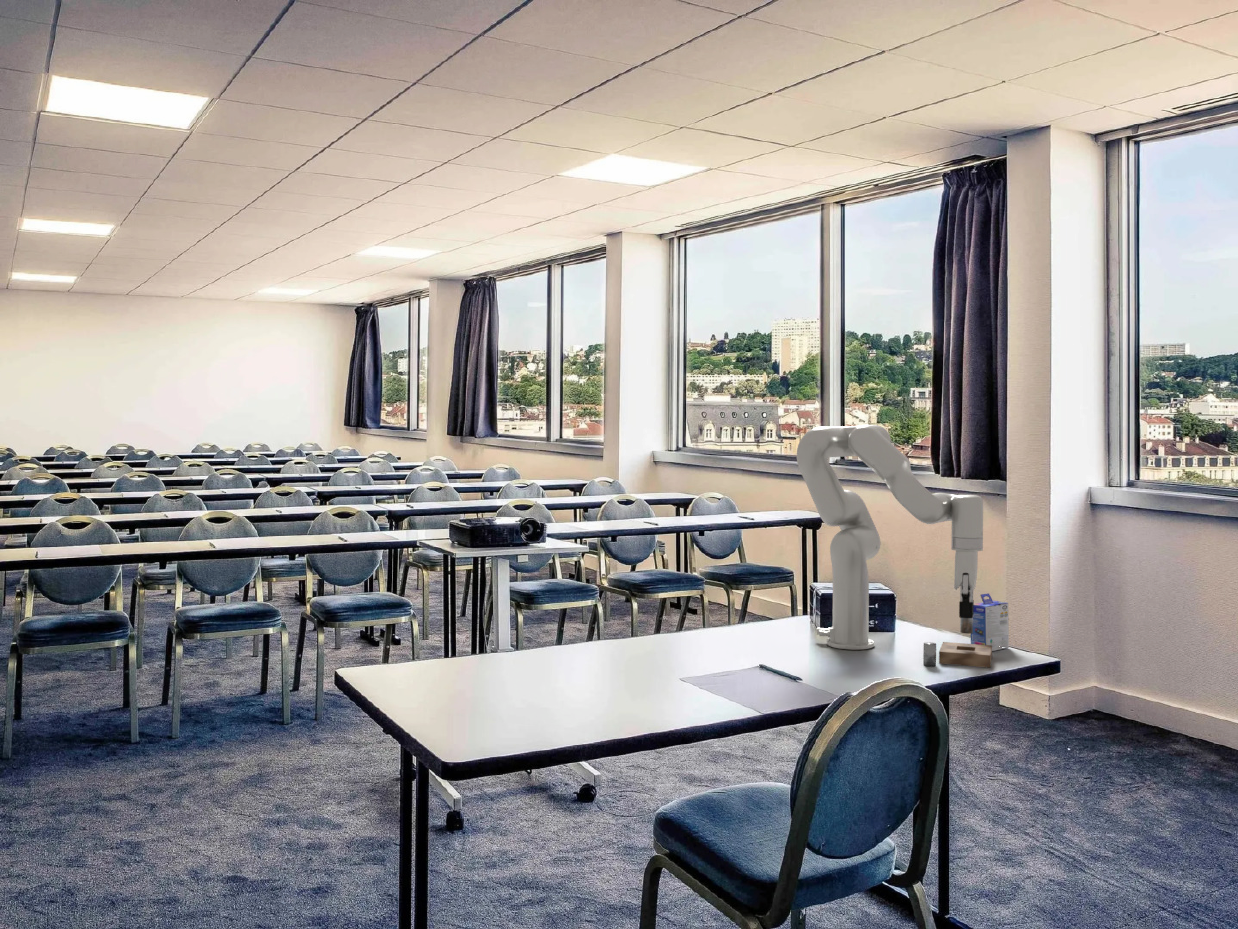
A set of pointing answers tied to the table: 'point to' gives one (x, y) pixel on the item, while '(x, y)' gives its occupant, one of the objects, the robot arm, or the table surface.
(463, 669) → the table surface
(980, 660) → the socket block
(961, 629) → the long pin
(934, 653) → the short pin
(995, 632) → the ink cartridge box
